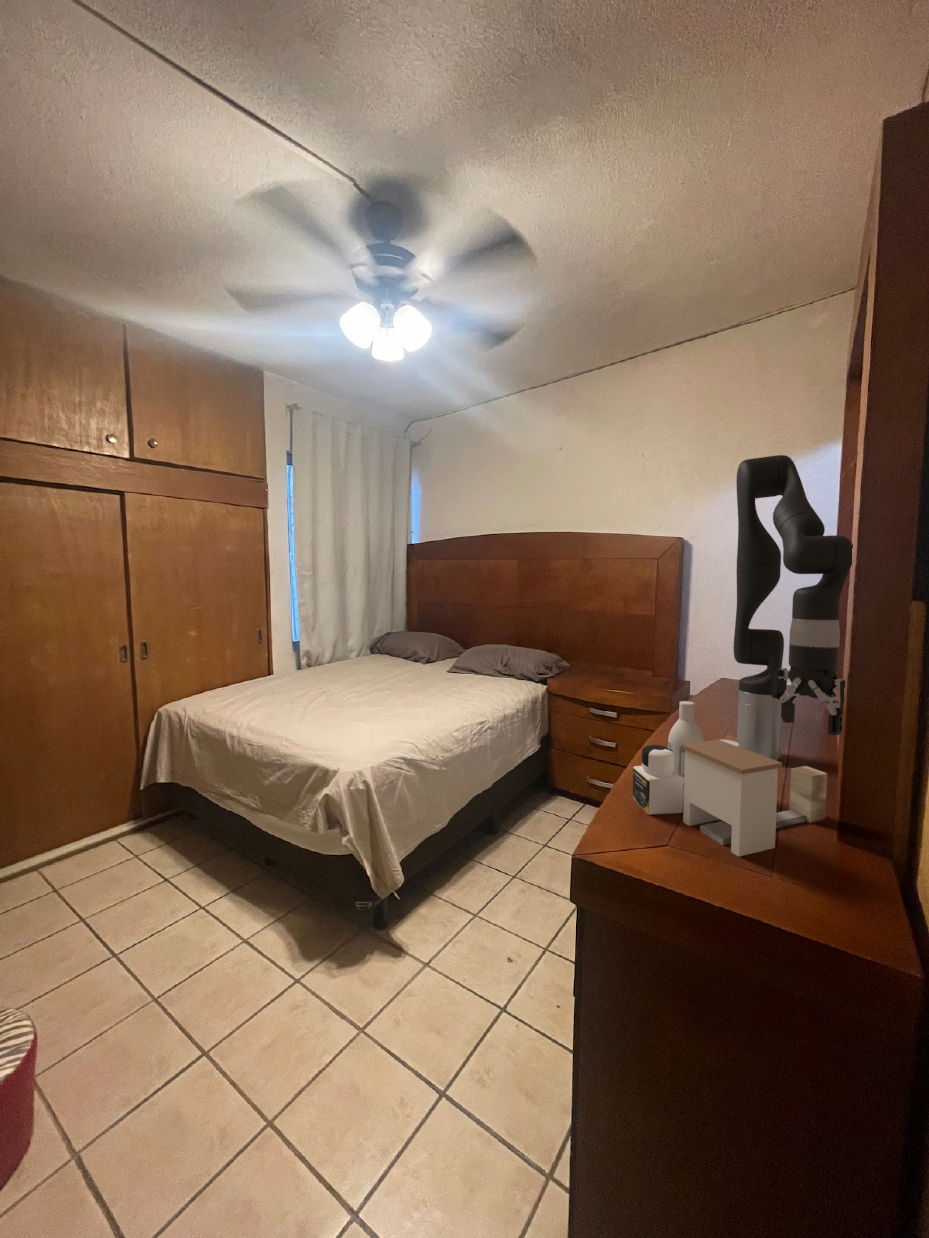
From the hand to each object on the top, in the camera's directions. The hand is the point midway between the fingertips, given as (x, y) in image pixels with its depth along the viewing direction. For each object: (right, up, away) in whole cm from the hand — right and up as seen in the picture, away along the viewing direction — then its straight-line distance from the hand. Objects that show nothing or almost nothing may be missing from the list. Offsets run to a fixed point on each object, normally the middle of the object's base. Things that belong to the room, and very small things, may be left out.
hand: (810, 728), depth 89 cm
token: (-20, -18, -6) cm, 28 cm away
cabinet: (-19, -18, -5) cm, 26 cm away
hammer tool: (-5, -17, -1) cm, 18 cm away
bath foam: (-19, -17, +11) cm, 27 cm away
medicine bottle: (-27, -17, +6) cm, 32 cm away
